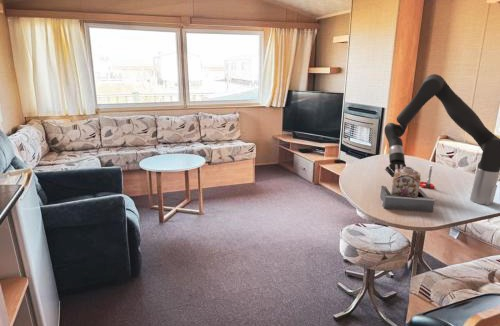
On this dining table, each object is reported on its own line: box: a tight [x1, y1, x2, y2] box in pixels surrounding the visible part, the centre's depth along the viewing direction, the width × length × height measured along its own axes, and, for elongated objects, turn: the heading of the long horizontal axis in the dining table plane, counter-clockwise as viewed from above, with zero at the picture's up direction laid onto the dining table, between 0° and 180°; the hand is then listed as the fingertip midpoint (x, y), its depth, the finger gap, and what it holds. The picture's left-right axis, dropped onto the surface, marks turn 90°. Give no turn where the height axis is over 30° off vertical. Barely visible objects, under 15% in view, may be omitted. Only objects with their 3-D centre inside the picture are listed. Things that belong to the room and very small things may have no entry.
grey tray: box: [379, 185, 436, 213], centre depth 164 cm, size 15×22×7 cm
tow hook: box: [419, 165, 435, 189], centre depth 190 cm, size 8×13×9 cm
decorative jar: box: [390, 166, 421, 197], centre depth 166 cm, size 12×12×18 cm
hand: (399, 184), depth 173 cm, fingers closed
